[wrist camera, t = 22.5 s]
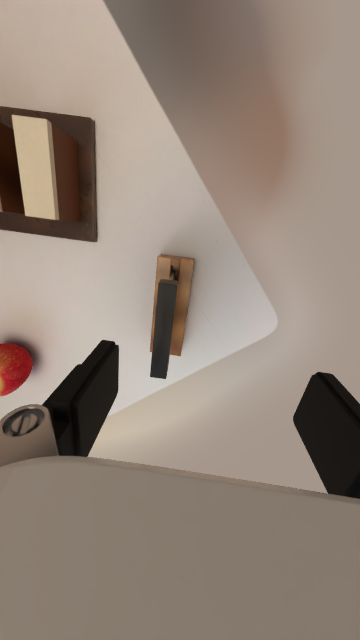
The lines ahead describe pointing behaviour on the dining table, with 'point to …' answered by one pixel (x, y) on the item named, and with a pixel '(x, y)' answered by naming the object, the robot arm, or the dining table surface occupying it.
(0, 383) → the apple
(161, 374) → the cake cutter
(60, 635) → the robot arm
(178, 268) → the knife block
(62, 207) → the cake slice
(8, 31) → the dining table surface
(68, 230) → the cake
